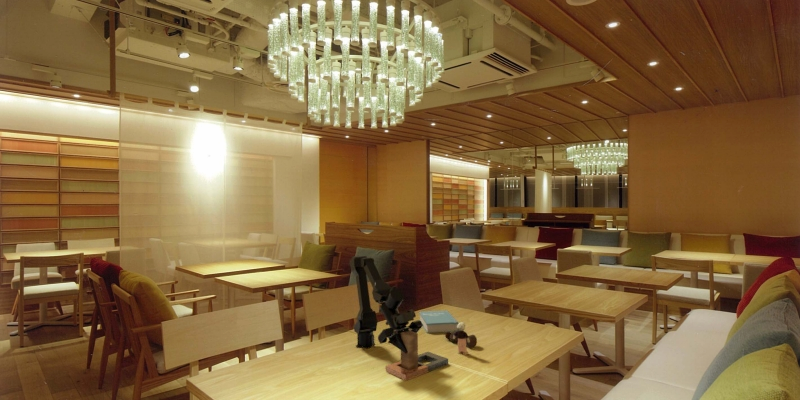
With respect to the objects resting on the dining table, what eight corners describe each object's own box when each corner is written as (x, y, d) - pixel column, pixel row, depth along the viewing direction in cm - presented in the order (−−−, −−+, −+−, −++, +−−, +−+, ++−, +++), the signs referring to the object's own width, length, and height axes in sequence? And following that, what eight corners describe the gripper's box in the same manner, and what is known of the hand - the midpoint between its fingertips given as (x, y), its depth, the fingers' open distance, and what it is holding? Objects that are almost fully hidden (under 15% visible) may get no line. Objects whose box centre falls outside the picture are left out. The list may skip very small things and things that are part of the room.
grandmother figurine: (472, 352, 170) (471, 322, 170) (469, 355, 166) (469, 324, 166) (454, 350, 173) (453, 320, 173) (451, 353, 169) (450, 322, 169)
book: (419, 321, 219) (419, 311, 219) (448, 319, 221) (448, 310, 221) (426, 334, 197) (426, 323, 197) (459, 332, 198) (459, 322, 199)
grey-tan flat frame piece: (405, 380, 143) (405, 375, 143) (385, 371, 152) (385, 366, 152) (448, 364, 158) (448, 358, 158) (428, 356, 166) (428, 351, 166)
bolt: (448, 343, 188) (474, 350, 176) (441, 339, 185) (468, 346, 173) (452, 330, 190) (478, 337, 178) (445, 327, 187) (471, 333, 176)
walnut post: (409, 371, 149) (408, 335, 149) (400, 368, 152) (400, 333, 153) (418, 368, 152) (417, 333, 152) (409, 364, 155) (409, 330, 156)
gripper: (382, 307, 149) (402, 345, 141) (419, 299, 162) (440, 334, 153) (369, 324, 155) (388, 362, 147) (406, 315, 167) (425, 349, 159)
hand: (411, 351), depth 151 cm, fingers closed on walnut post, 4 cm apart
